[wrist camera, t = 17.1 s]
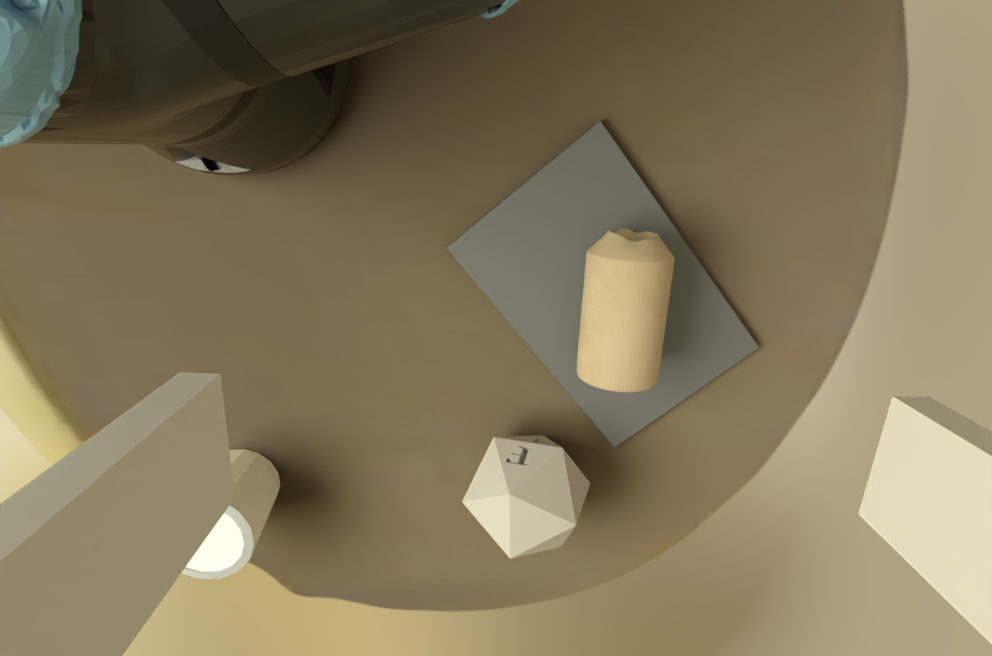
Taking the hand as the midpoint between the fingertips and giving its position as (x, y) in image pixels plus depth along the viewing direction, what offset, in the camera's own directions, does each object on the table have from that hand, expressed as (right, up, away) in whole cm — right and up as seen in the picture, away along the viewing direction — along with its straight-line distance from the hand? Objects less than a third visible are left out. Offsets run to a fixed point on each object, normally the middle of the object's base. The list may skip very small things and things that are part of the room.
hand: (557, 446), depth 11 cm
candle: (+7, -1, +27) cm, 28 cm away
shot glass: (-21, -10, +33) cm, 40 cm away
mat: (+7, +5, +29) cm, 30 cm away
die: (+1, -8, +33) cm, 34 cm away
